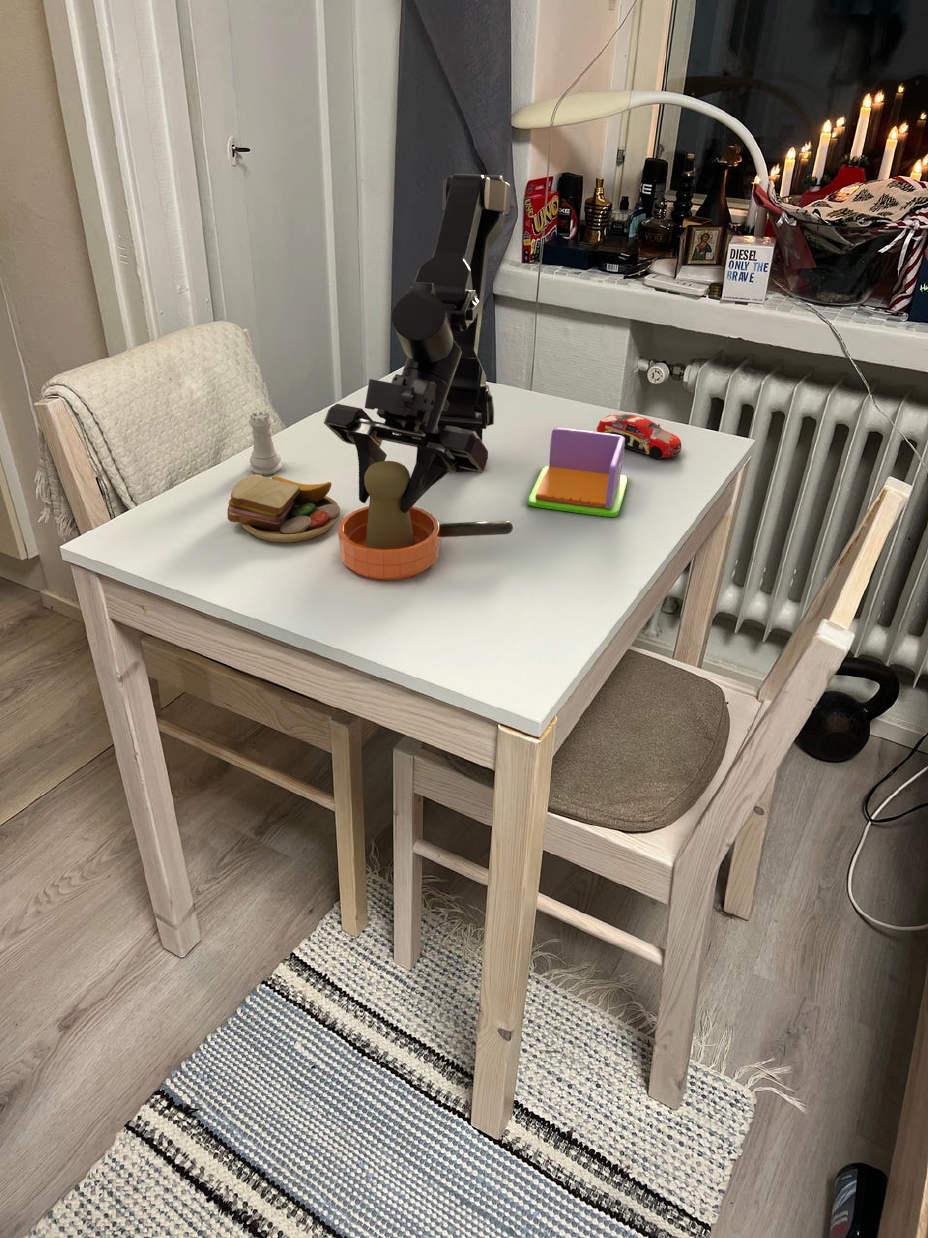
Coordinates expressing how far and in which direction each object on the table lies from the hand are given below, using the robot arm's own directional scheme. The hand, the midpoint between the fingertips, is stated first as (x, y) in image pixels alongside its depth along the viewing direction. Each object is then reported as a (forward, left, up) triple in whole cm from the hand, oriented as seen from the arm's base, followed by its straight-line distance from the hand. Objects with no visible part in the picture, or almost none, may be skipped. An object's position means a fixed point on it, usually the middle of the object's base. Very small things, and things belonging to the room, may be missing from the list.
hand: (382, 506), depth 104 cm
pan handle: (-11, -1, -5) cm, 12 cm away
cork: (-1, -1, -7) cm, 7 cm away
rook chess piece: (+15, -27, -7) cm, 32 cm away
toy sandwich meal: (+12, -11, -7) cm, 18 cm away
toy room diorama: (-27, -16, -7) cm, 32 cm away
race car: (-39, -30, -7) cm, 49 cm away
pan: (-1, -1, -7) cm, 7 cm away
